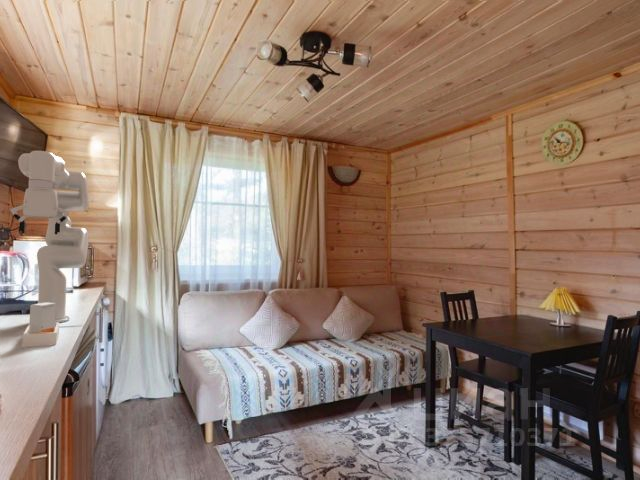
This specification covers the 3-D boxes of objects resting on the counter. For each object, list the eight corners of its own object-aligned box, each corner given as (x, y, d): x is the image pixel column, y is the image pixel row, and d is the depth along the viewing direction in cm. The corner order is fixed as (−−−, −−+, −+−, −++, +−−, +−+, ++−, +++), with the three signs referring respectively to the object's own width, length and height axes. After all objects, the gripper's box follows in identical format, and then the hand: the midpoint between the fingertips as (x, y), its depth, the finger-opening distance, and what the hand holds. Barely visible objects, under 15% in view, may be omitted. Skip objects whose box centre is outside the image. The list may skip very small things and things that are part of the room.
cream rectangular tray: (28, 335, 140) (28, 323, 140) (58, 333, 144) (59, 321, 145) (22, 347, 125) (22, 334, 125) (56, 344, 130) (56, 331, 130)
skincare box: (39, 342, 128) (40, 305, 128) (28, 341, 129) (29, 304, 129) (55, 337, 134) (56, 302, 134) (44, 337, 135) (45, 302, 135)
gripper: (70, 189, 149) (68, 234, 149) (12, 184, 140) (11, 233, 140) (69, 187, 142) (68, 234, 142) (9, 182, 133) (7, 233, 133)
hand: (40, 233), depth 141 cm, fingers open, 9 cm apart
